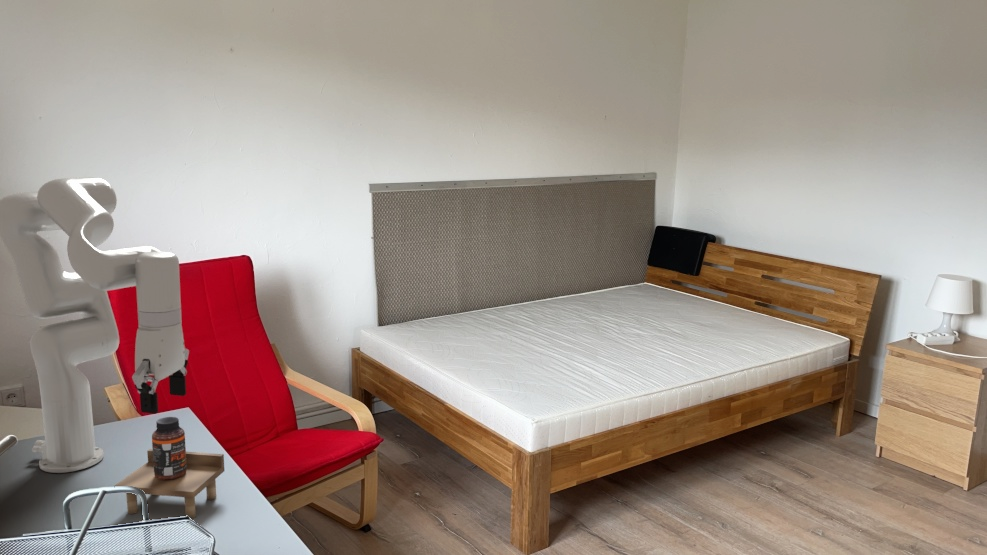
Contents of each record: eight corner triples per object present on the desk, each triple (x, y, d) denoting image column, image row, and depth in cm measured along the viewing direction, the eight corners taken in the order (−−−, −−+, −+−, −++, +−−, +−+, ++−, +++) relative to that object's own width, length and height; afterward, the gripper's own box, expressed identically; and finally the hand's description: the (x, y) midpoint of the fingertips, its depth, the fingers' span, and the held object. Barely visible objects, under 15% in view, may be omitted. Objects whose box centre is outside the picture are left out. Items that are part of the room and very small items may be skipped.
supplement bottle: (176, 482, 148) (172, 426, 146) (147, 479, 149) (143, 424, 147) (193, 469, 154) (189, 415, 152) (166, 467, 155) (162, 413, 153)
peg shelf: (116, 515, 147) (113, 473, 146) (153, 488, 159) (150, 448, 158) (195, 522, 145) (192, 480, 144) (225, 494, 157) (223, 454, 155)
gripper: (166, 306, 154) (170, 387, 158) (113, 327, 137) (118, 418, 141) (202, 308, 153) (205, 390, 157) (152, 330, 136) (156, 421, 140)
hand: (164, 403), depth 149 cm, fingers open, 9 cm apart
